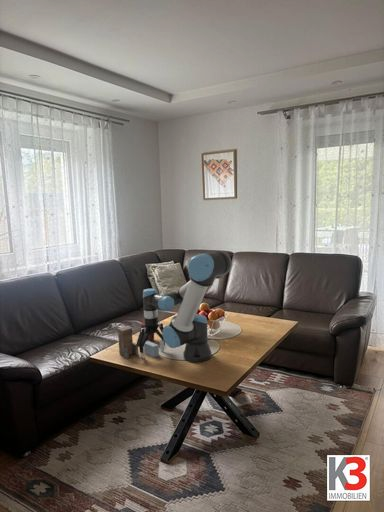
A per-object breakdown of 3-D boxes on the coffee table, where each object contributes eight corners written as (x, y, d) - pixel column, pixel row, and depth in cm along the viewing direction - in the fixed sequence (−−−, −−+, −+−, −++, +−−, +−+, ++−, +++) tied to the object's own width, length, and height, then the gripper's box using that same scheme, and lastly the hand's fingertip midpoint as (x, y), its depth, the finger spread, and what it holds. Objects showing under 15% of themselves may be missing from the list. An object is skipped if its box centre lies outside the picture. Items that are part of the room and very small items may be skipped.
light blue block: (159, 355, 202) (158, 344, 202) (153, 357, 200) (153, 346, 199) (148, 350, 210) (147, 340, 209) (143, 352, 208) (142, 342, 207)
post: (118, 354, 206) (116, 329, 204) (129, 350, 211) (127, 325, 209) (126, 358, 199) (125, 332, 197) (138, 355, 204) (136, 329, 202)
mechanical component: (158, 338, 229) (154, 344, 220) (143, 337, 231) (138, 343, 222) (157, 319, 228) (152, 324, 218) (142, 319, 230) (137, 323, 220)
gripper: (164, 311, 212) (166, 346, 214) (128, 320, 196) (130, 359, 198) (172, 313, 206) (174, 349, 209) (135, 323, 190) (138, 363, 193)
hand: (153, 354), depth 204 cm, fingers open, 12 cm apart
